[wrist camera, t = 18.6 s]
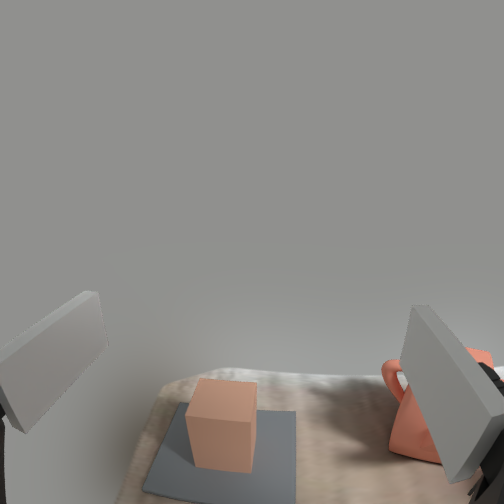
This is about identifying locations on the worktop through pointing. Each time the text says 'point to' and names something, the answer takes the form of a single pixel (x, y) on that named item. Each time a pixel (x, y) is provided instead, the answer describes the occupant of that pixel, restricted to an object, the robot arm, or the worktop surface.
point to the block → (223, 425)
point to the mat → (225, 482)
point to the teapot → (415, 414)
